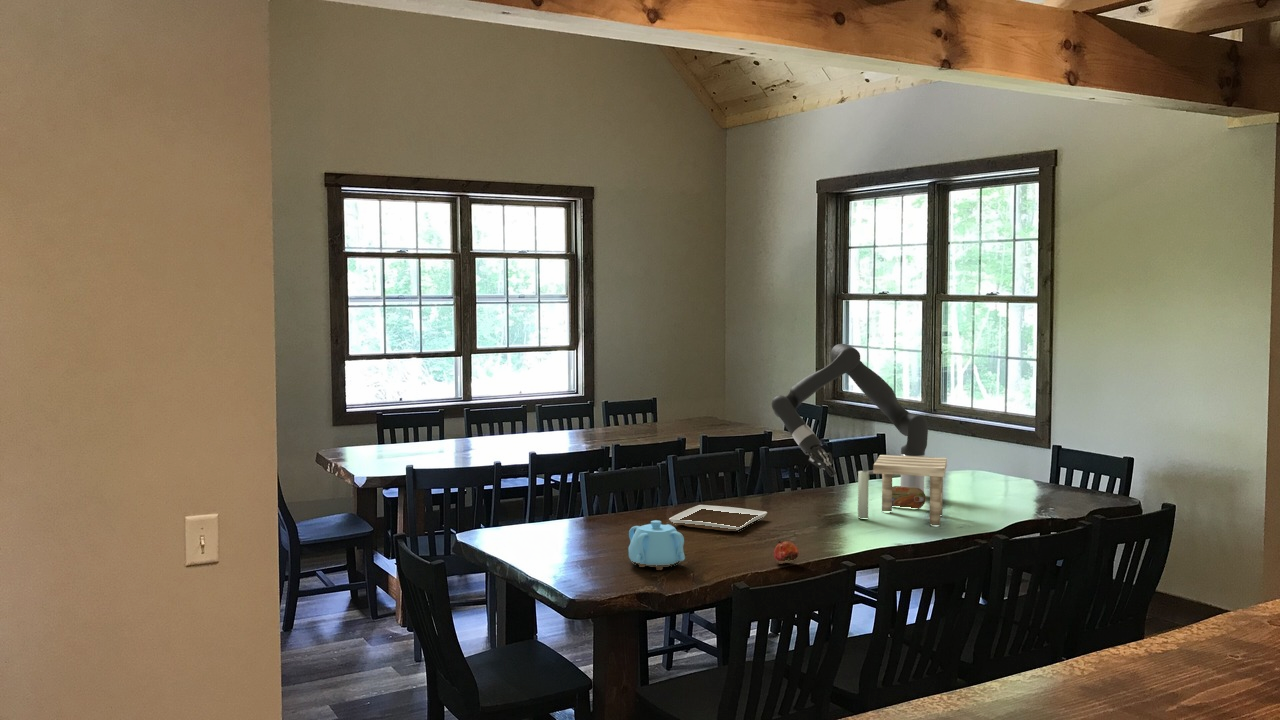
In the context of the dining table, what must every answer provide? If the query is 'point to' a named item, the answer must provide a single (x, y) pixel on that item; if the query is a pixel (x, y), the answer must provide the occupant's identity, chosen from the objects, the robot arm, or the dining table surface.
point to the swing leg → (863, 493)
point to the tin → (908, 497)
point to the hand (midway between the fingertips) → (833, 475)
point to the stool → (916, 467)
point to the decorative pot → (656, 544)
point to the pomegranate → (785, 551)
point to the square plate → (716, 508)
